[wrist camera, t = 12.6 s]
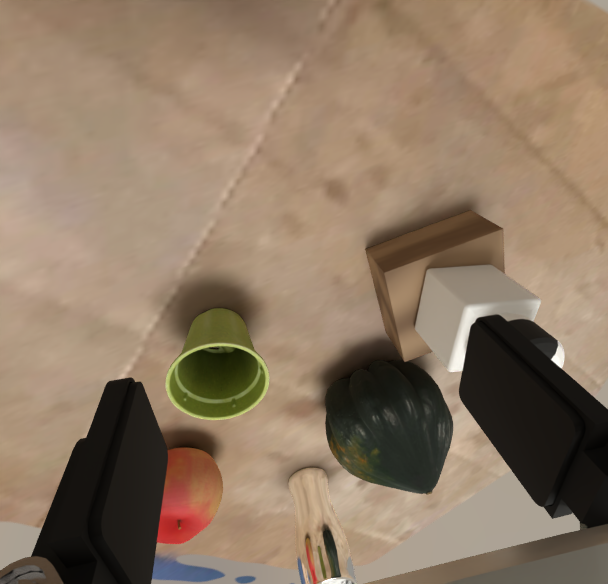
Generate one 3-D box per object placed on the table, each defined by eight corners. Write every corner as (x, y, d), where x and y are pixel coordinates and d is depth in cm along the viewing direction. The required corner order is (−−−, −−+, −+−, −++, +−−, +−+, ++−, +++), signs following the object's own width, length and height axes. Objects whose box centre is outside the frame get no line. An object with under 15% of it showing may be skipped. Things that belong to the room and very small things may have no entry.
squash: (327, 364, 41) (359, 520, 37) (454, 342, 44) (499, 485, 39) (309, 379, 54) (330, 495, 50) (407, 361, 57) (436, 470, 53)
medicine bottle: (412, 328, 40) (480, 415, 30) (425, 267, 37) (507, 342, 27) (473, 322, 42) (558, 404, 32) (491, 263, 38) (593, 332, 28)
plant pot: (271, 303, 43) (282, 352, 35) (248, 368, 46) (253, 425, 39) (185, 285, 40) (176, 334, 32) (168, 356, 44) (157, 415, 36)
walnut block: (364, 247, 42) (384, 272, 37) (468, 209, 42) (503, 228, 37) (385, 330, 48) (404, 362, 43) (475, 297, 48) (506, 324, 43)
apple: (199, 484, 55) (195, 560, 47) (134, 468, 51) (116, 547, 43) (234, 441, 52) (237, 514, 44) (168, 420, 48) (156, 496, 40)
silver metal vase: (297, 461, 57) (319, 575, 44) (337, 468, 59) (369, 578, 46) (277, 491, 59) (292, 607, 46) (316, 496, 62) (341, 608, 49)
